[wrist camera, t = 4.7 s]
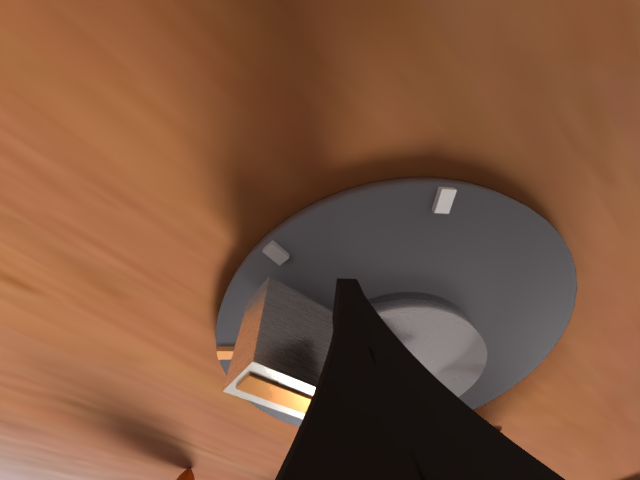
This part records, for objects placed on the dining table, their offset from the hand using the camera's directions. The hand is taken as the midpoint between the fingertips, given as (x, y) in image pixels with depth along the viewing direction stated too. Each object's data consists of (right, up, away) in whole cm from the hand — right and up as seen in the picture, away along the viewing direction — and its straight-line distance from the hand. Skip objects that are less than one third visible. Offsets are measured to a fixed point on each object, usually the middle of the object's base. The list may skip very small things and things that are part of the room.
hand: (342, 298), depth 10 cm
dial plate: (+3, -4, +6) cm, 8 cm away
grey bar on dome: (+2, -3, +4) cm, 6 cm away
